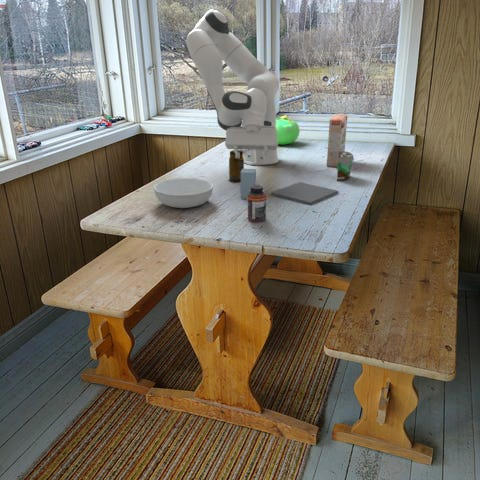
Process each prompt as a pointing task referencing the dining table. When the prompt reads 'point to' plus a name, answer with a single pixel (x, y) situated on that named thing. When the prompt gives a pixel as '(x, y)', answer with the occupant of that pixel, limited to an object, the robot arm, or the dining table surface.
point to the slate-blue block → (247, 181)
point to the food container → (344, 165)
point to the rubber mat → (304, 193)
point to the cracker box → (336, 139)
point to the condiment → (235, 167)
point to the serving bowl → (183, 192)
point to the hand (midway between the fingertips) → (249, 158)
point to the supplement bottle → (256, 204)
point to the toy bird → (286, 130)
